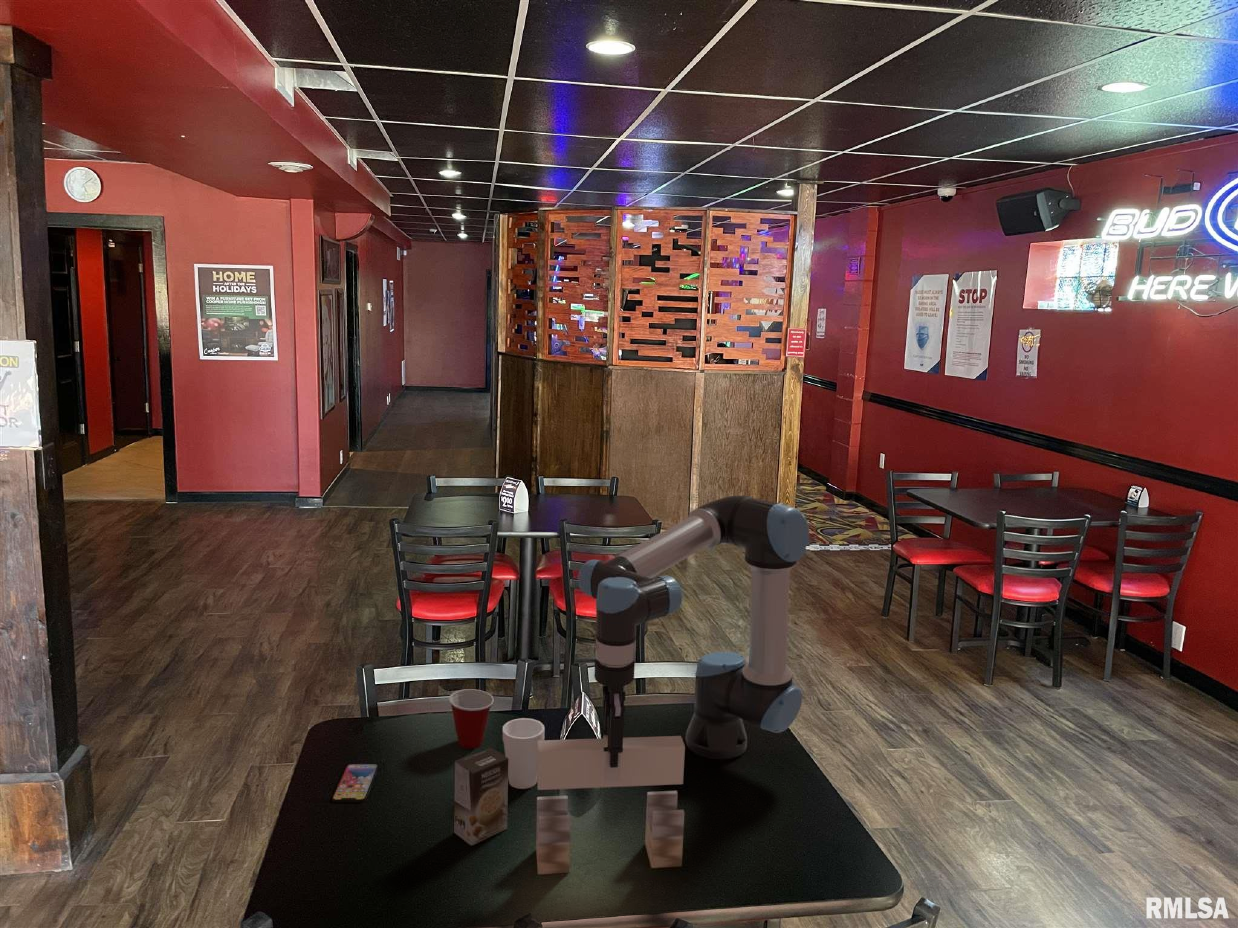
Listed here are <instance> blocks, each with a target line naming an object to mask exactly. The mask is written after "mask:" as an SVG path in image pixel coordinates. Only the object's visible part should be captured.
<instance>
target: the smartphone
mask: <svg viewBox="0 0 1238 928" xmlns="http://www.w3.org/2000/svg"><path fill="white" fill-rule="evenodd" d="M378 771H379V764H377V763H349V764H347V765H346V766H345V768H344V770H343V772H342V774H341V777H340V779H339V781H338V783H337V785H336V788H335V790H334V792H333V794H332V795H331V796H332V797H331V802H333V803H335V804H337V803H339V804H340V803H343V804H345V803H346V804H347V803H351V804H353V803H357V804H358V803H364V802H367V799H368V797H369V794H370V791H371V788H372V785H373V784H374V780H375V778H376V775H377V774H378Z"/></svg>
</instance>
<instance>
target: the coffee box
mask: <svg viewBox="0 0 1238 928" xmlns="http://www.w3.org/2000/svg"><path fill="white" fill-rule="evenodd" d="M508 759H509V758H507V757H506V756H505V754H503V753H501V752H499V751H498V750H495V749H493V748H492V747H488V748H486V749H483V750H480V751H477V752H475V753H473V754H470V755H468V756H464V757H462V758H460V759H456V760H454V822H453V823H454V827H453V829H454V830H453V832H454V834H455V835H457V836H458V837H459V838H461V839H462V840H463V841H464V842H466V843H467V844H468V845H470V846H474V845H476V844H478V843H481V842H482V841H485V840H487V839H488V838H489V839H490V837H493V836H495V835H497V834H499V833H502V832H503V831H505V830H507V829H508V802H509V800H508V799H509V798H508V797H509V796H508V792H509V791H508V790H509V779H508Z"/></svg>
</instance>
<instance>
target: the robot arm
mask: <svg viewBox="0 0 1238 928" xmlns="http://www.w3.org/2000/svg"><path fill="white" fill-rule="evenodd" d="M809 542H810V528H809V523H808V520H807V518H806V516H805V515H804V514H803V513H802V512H801V510H799V509H798V508H796V507H793V506H790V505H788V504H785V503H778V502H774V501H769V500H764V499H759V498H755V497H751V496H749V495H748V496H747V495H732V496H731V495H730V496H725V497H721V498H718V499H715V500H712V501H710V502H707V503H705V504H703V505H701V506H698V507H697V508H695V509H693V510H691V511H690V512H689V514H688V516H687V518H686V519H684V520H681V521H679V522H678V523H676V524H674V525H673V526H670V527H668V528H667V529H665V530H663V531H662V532H660V533H657V534H656V535H654V536H652V537H650V538H648V539H646V540H645V541H643V542H641V543H639V544H637V545H635V546H633V547H632V548H630V549H628V550H626V551H624V552H622V553H620V554H619V555H617V556H615V557H613V558H611V559H609V560H607V561H603V560H601V559H590V560H587V561H586V562H584V564H583V565H582V566H581V567H580V569H579V571H578V576H577V582H578V584H577V585H578V587H579V589H580V591H581V592H582V593H583V594H585V595H587V596H589V597H591V598H592V599H594V600H595V607H596V609H595V610H596V611H595V613H596V614H595V617H596V620H595V642H596V643H592V649H595V656H594V657H595V660H594V679H595V681H596V682H597V683H598V684H600V685H602V687H601V688H602V689H601V690H602V722H601V726H602V728H603V729H602V733H603V734H604V735H603V736H602V738H608V746H607V747H604V752H606V768H605V781H620V757H621V753H622V752H623V738H624V724H625V722H624V721H625V713H626V712H625V711H626V706H625V701H626V691H625V690H624V687H625V686H628V685H630V684H632V682H634V679H635V659H636V649H637V648H636V647H637V639H636V638H637V626H639V625H642V624H644V623H646V622H650V621H653V620H657V619H660V618H664V617H666V616H669V614H671V613H674V612H676V611H677V610H678V609H679V608H680V607H681V605H682V602H683V591H682V588H681V585H680V584H679V581H677V580H676V579H675V578H674V577H673V576H670V575H659V574H661V573H662V572H664V571H666V570H668V569H670V568H672V567H673V566H675V565H677V564H679V563H681V562H682V561H684V560H685V559H687V558H688V557H691V556H693V555H694V554H696V553H697V552H700V551H701V550H703V549H713V548H716V547H717V546H718V545H719V546H720V545H731V546H734V547H739V548H742V549H744V563H745V564H746V565H747V566H748V567H749V568H750V569H751V570H750V573H751V575H750V601H749V603H750V605H749V607H750V609H749V613H750V614H749V636H748V637H749V639H748V640H749V643H748V645H749V646H748V662H746V658H745V657H744V656H743V655H742V654H739V653H737V652H733V651H732V652H731V651H715V652H711V653H707V654H705V655H703V656H700V658H699V659H698V660H697V663H696V671H695V676H694V677H695V681H694V683H695V684H694V685H695V687H694V688H695V690H694V709H693V713H692V714H693V715H692V717H691V718H690V722H689V724H688V727H687V729H686V732H685V745H686V747H687V748H688V749H689V750H690V751H691V752H693V753H694V754H695V755H697V756H700V757H703V758H706V759H711V760H731V759H734V758H738V757H739V756H742V755H744V753H745V752H746V750H747V748H748V735H747V733H746V728H745V725H744V721H745V722H748V723H750V724H753V725H755V726H756V727H760V728H761V729H762V730H766V731H769V732H772V733H775V734H776V733H777V734H779V733H783V732H785V731H786V730H787V729H788V728H789V727H790V726H791V725H793V723H794V721H795V719H796V718H797V716H798V714H799V712H800V710H801V706H802V703H803V692H802V690H801V689H800V688H799V687H798V686H797V685H793V675H794V674H793V671H792V670H791V668H790V667H789V666H788V665H787V657H788V656H787V655H788V633H789V632H788V629H789V628H788V627H789V626H788V624H789V605H790V604H789V602H790V601H789V599H790V581H791V577H790V576H791V575H790V574H791V570H792V569H793V568H794V567H796V566H797V564H798V561H799V560H800V559H802V558H803V557H804V555H805V554H806V552H807V547H808V545H809ZM655 576H656V577H655Z"/></svg>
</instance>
